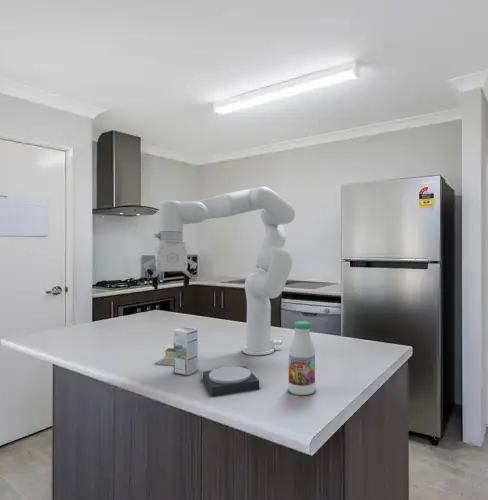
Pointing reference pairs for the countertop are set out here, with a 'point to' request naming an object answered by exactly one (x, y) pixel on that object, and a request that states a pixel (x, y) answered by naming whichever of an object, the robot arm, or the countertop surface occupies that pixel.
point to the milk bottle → (302, 361)
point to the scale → (230, 380)
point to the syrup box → (185, 350)
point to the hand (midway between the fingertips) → (170, 288)
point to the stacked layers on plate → (168, 355)
